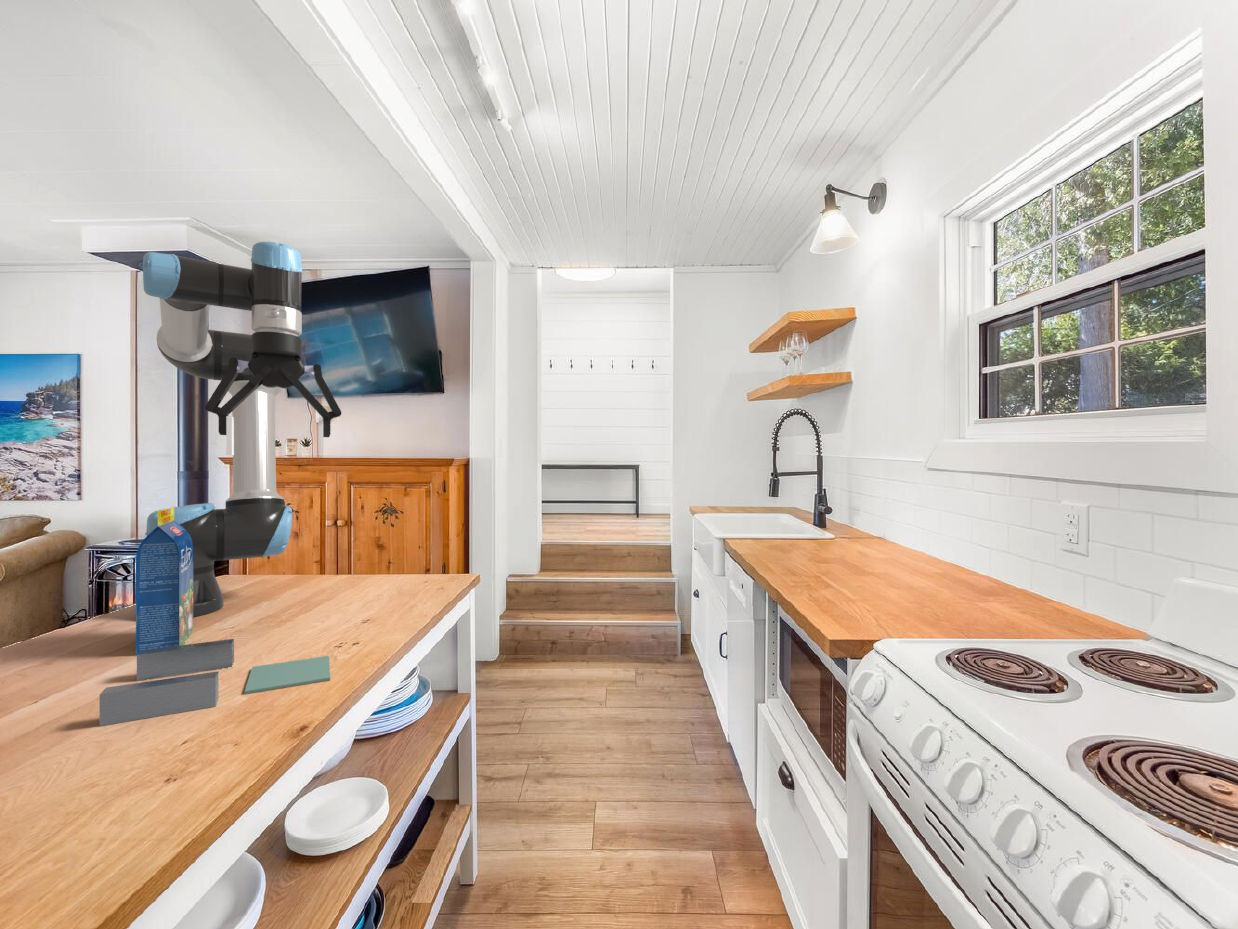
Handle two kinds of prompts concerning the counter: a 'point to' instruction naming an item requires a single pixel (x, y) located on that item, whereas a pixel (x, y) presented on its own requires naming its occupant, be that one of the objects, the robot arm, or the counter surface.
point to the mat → (288, 674)
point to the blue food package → (164, 585)
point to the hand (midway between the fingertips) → (277, 455)
